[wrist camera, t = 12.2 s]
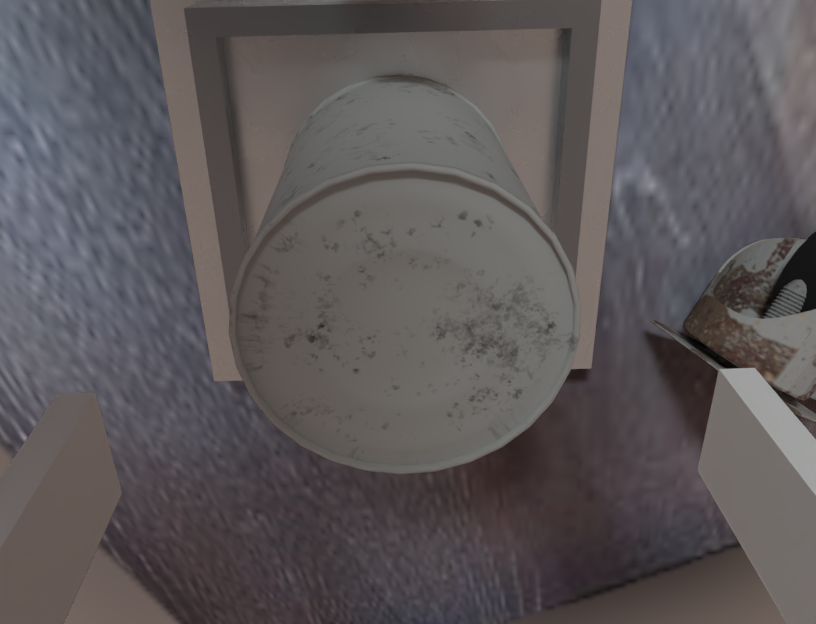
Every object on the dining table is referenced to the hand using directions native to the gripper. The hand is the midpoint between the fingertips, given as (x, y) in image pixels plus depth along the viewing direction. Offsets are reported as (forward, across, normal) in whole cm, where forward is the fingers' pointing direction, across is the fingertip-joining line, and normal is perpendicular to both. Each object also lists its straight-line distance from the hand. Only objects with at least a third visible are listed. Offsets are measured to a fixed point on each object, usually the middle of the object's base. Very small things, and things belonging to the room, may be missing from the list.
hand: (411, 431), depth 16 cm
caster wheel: (+19, -19, +6) cm, 27 cm away
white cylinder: (+17, 0, 0) cm, 17 cm away
